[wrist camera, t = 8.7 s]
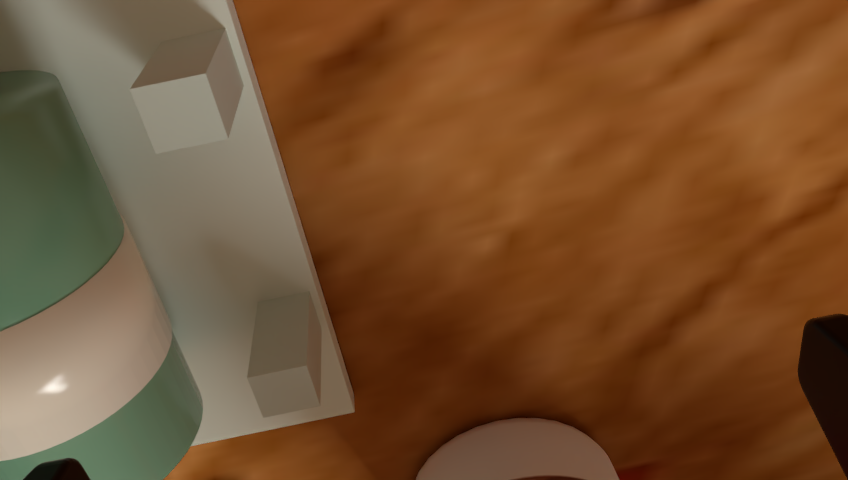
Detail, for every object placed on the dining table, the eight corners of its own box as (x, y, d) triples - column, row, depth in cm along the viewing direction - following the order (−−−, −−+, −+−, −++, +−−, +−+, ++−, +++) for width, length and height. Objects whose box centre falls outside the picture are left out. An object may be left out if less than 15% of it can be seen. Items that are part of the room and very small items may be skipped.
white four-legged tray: (-316, -41, 16) (-491, 6, 12) (187, -146, 16) (149, -127, 12) (25, 463, 24) (-25, 572, 21) (354, 394, 24) (357, 493, 21)
